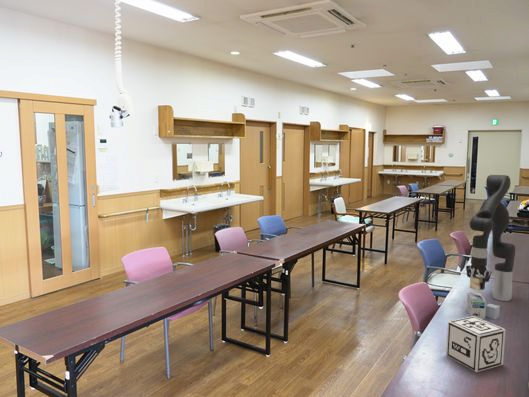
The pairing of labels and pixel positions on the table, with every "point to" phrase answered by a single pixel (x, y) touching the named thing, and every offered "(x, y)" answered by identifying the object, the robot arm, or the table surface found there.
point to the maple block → (475, 283)
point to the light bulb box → (476, 305)
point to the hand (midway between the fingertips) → (477, 287)
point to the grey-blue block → (492, 311)
